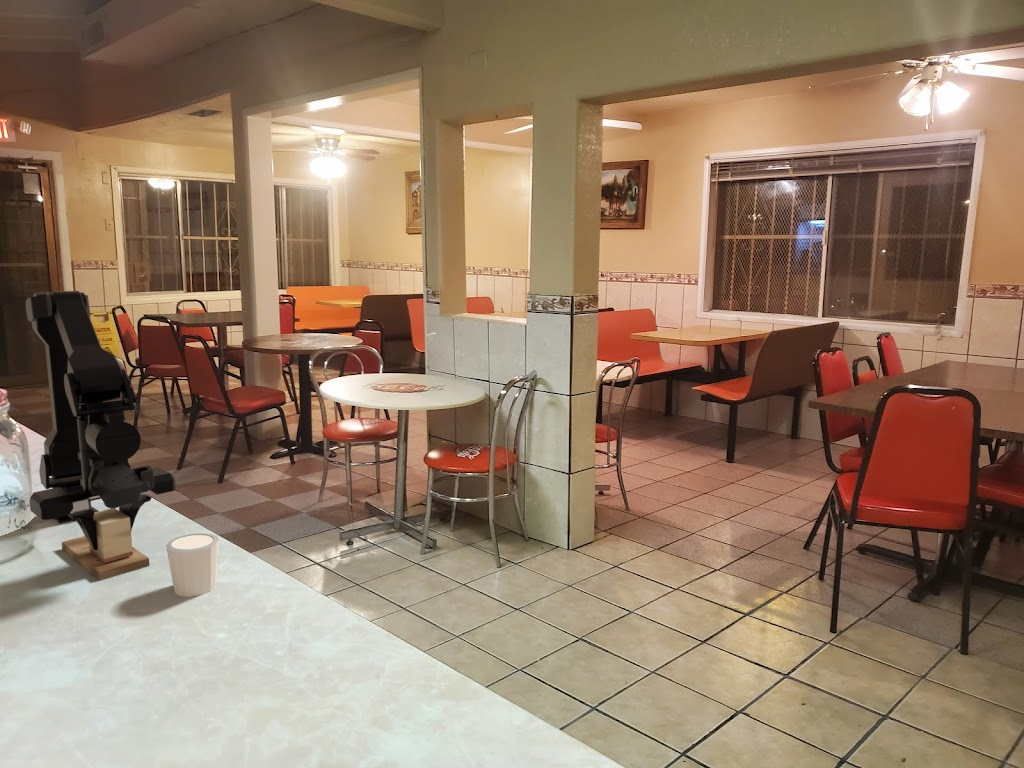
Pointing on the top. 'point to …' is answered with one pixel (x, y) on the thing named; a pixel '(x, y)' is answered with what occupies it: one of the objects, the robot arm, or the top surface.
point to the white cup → (193, 563)
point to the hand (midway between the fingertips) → (110, 545)
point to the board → (96, 566)
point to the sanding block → (112, 535)
